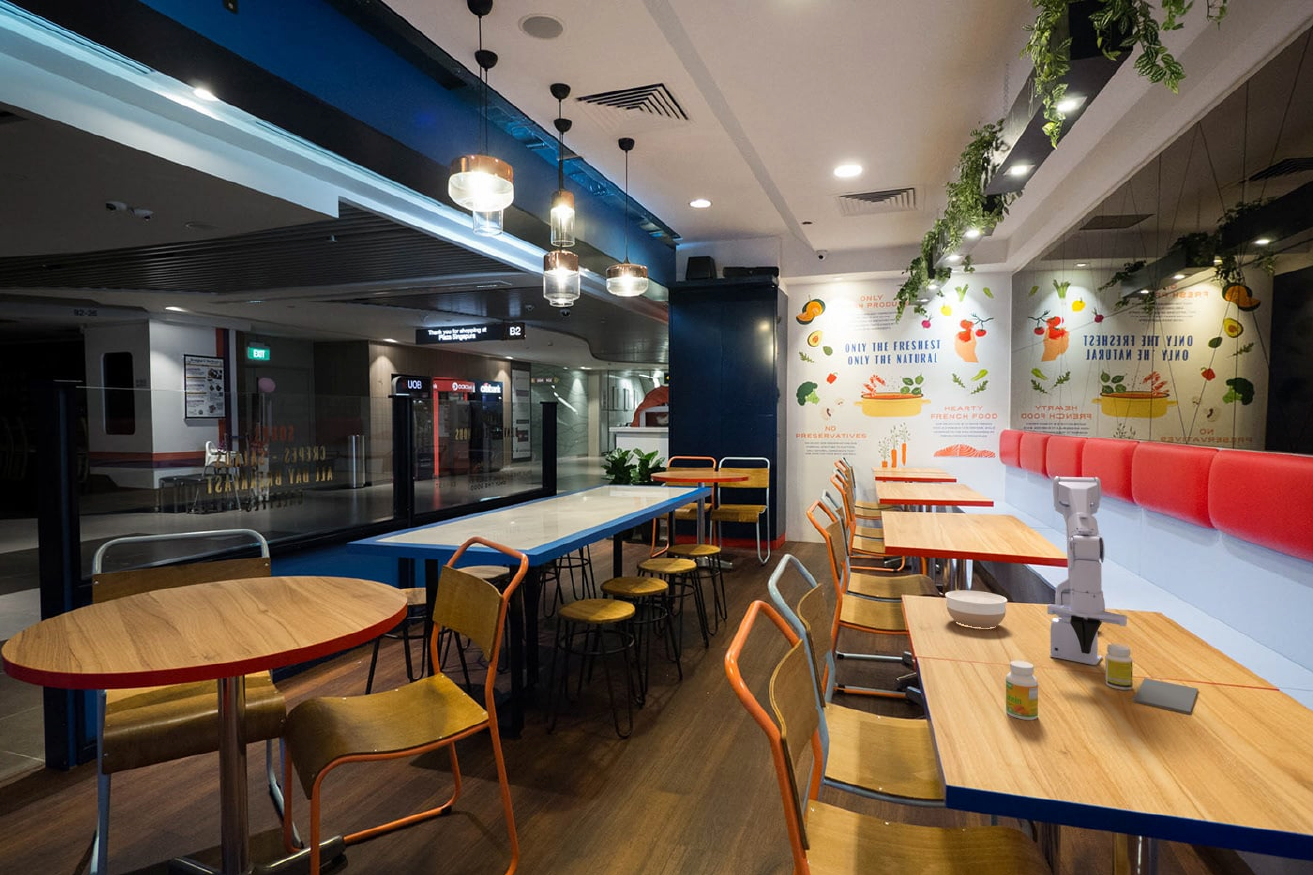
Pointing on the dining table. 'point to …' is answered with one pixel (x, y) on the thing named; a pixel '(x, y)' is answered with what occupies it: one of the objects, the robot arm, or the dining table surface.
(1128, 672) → the supplement bottle
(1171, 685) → the mat
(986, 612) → the bowl
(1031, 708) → the supplement bottle
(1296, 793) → the dining table surface
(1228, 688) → the dining table surface
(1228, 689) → the dining table surface
